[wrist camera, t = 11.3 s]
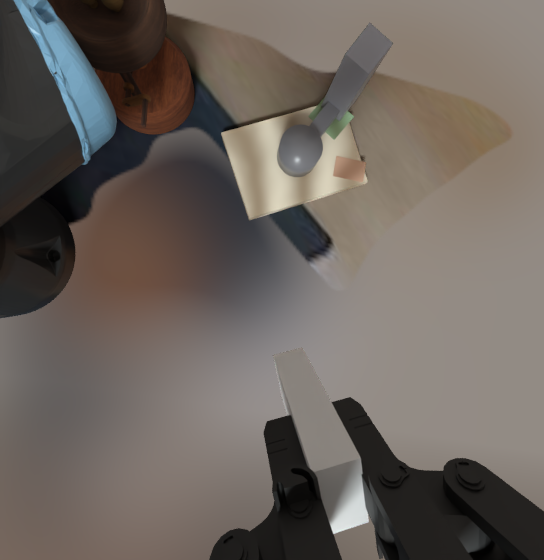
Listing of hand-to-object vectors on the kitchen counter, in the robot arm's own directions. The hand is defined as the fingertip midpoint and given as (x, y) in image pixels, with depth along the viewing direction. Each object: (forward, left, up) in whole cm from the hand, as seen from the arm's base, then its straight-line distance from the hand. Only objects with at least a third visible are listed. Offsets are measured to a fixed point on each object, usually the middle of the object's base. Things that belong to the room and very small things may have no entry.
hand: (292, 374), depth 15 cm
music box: (-29, +7, -25) cm, 39 cm away
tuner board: (-12, +16, -24) cm, 32 cm away
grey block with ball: (-13, +20, -23) cm, 33 cm away
